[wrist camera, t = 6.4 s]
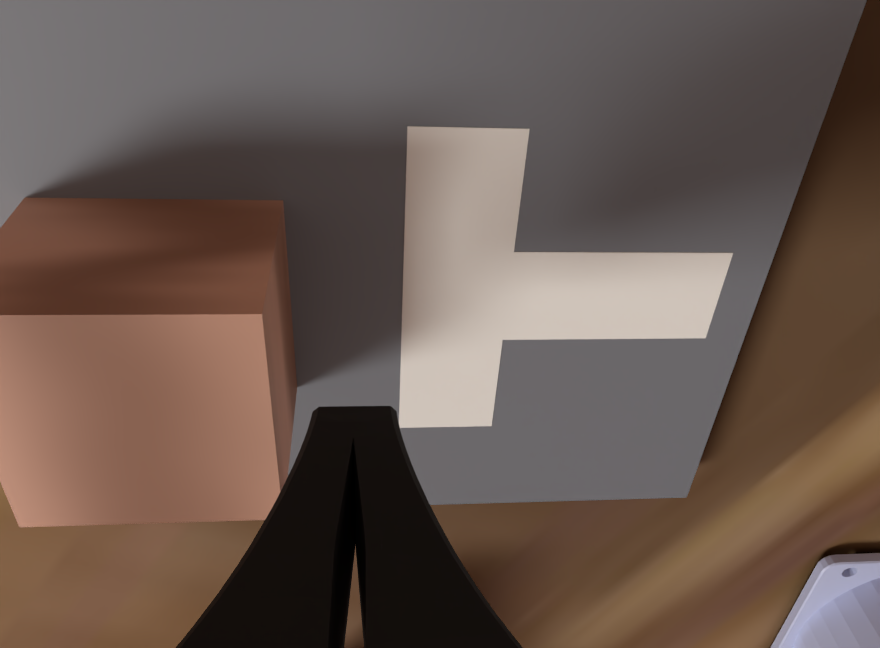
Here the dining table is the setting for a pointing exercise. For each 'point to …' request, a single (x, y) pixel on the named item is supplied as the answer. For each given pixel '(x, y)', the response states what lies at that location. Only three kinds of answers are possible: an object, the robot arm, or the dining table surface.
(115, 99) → the board
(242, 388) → the terracotta block
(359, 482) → the robot arm
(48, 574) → the dining table surface
